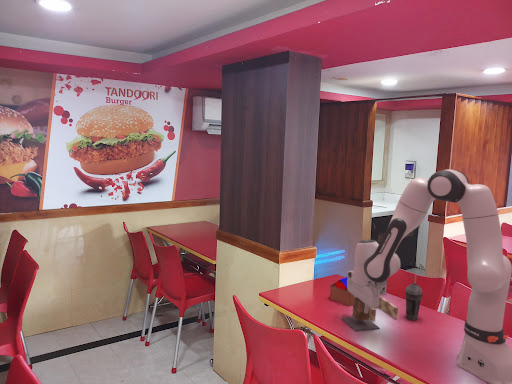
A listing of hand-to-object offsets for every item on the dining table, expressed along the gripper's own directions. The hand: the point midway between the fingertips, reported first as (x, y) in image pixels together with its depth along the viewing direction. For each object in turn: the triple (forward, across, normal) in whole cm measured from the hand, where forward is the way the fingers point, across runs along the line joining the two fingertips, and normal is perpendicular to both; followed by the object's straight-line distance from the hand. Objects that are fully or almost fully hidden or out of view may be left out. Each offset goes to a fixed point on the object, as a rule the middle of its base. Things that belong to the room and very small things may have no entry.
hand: (361, 309), depth 175 cm
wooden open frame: (+6, +9, -13) cm, 17 cm away
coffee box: (+7, +33, -28) cm, 44 cm away
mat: (+6, 0, 0) cm, 6 cm away
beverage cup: (+6, +1, -26) cm, 27 cm away
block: (+4, 0, 0) cm, 4 cm away
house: (+7, +28, -11) cm, 31 cm away
